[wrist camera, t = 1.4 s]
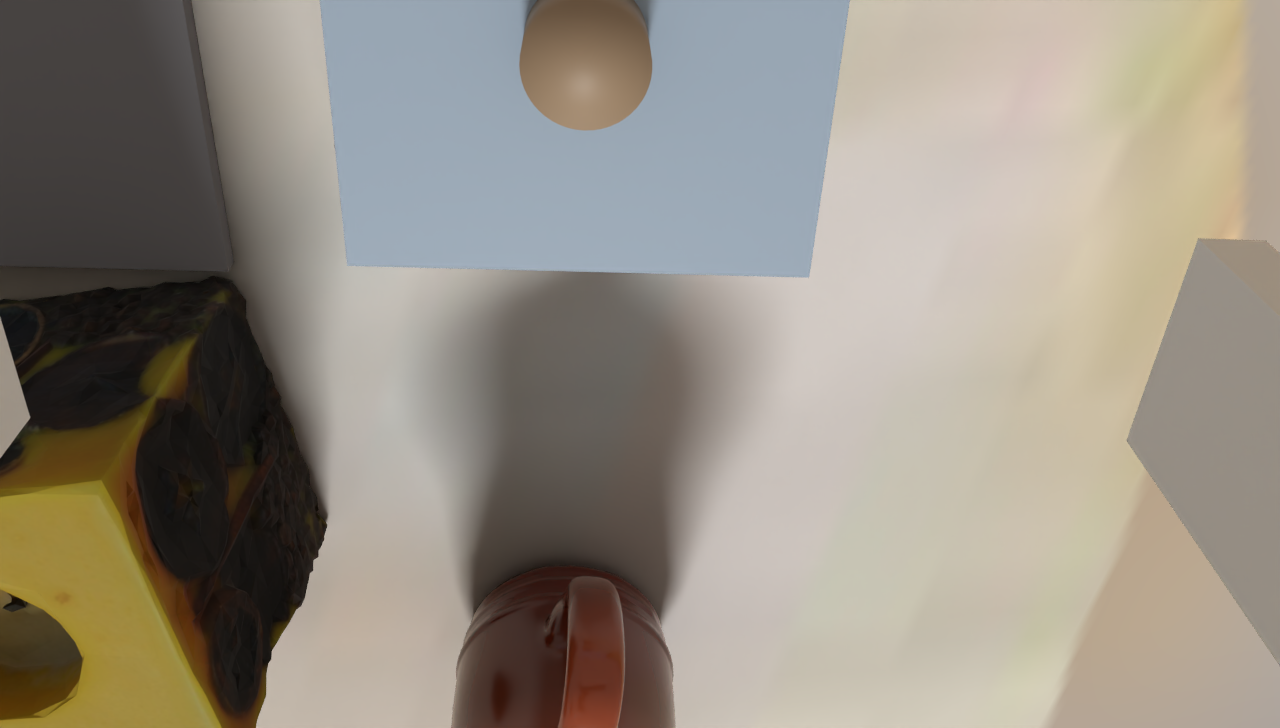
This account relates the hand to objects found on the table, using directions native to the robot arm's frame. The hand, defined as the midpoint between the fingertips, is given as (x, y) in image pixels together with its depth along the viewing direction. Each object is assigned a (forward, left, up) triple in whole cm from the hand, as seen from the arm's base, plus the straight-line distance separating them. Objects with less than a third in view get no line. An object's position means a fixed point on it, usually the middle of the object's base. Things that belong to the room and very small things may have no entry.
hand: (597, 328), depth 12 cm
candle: (-14, -15, -19) cm, 28 cm away
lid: (0, 0, -13) cm, 13 cm away
